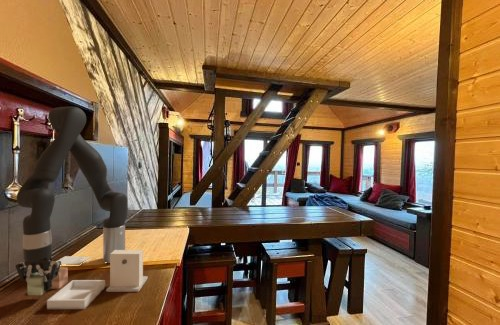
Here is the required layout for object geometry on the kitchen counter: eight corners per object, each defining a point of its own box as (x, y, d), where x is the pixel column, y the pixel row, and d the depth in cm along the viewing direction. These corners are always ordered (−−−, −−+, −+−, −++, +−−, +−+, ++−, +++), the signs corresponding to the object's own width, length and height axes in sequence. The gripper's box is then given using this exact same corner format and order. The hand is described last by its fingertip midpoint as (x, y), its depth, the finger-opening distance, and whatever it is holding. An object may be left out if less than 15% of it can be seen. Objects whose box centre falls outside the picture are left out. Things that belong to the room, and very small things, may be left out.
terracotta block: (56, 282, 94) (56, 267, 93) (67, 282, 94) (67, 267, 94) (47, 288, 89) (46, 273, 89) (59, 288, 89) (59, 273, 89)
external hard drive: (65, 259, 114) (91, 259, 114) (51, 267, 106) (78, 268, 106) (65, 255, 114) (91, 256, 114) (51, 263, 106) (78, 264, 106)
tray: (72, 287, 90) (72, 280, 90) (105, 287, 91) (105, 280, 91) (47, 309, 78) (46, 300, 78) (84, 309, 79) (84, 300, 78)
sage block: (38, 287, 85) (38, 271, 84) (51, 287, 85) (51, 271, 85) (27, 295, 80) (27, 278, 80) (41, 295, 81) (40, 278, 80)
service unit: (118, 278, 97) (118, 246, 97) (147, 278, 98) (147, 246, 97) (106, 291, 88) (106, 255, 88) (138, 291, 89) (138, 256, 88)
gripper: (66, 239, 86) (68, 283, 87) (26, 239, 85) (28, 284, 86) (50, 248, 78) (52, 296, 80) (5, 248, 77) (8, 297, 79)
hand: (39, 290), depth 83 cm, fingers closed on sage block, 4 cm apart
